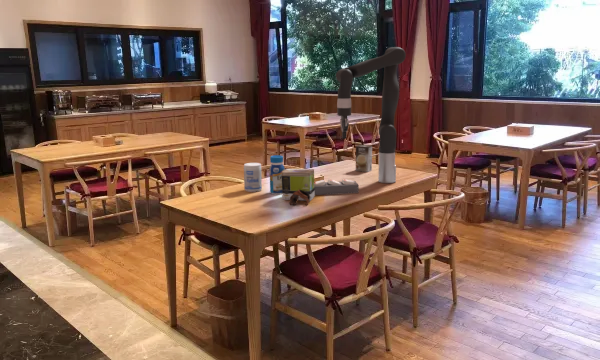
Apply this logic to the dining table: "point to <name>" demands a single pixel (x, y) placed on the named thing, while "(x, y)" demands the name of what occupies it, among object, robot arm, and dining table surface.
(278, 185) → the beverage bottle
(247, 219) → the dining table surface
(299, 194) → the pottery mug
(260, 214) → the dining table surface
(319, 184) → the rocker
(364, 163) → the coffee box
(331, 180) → the rocker
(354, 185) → the strip housing
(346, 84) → the robot arm
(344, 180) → the plate
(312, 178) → the tea box
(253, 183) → the supplement tub
